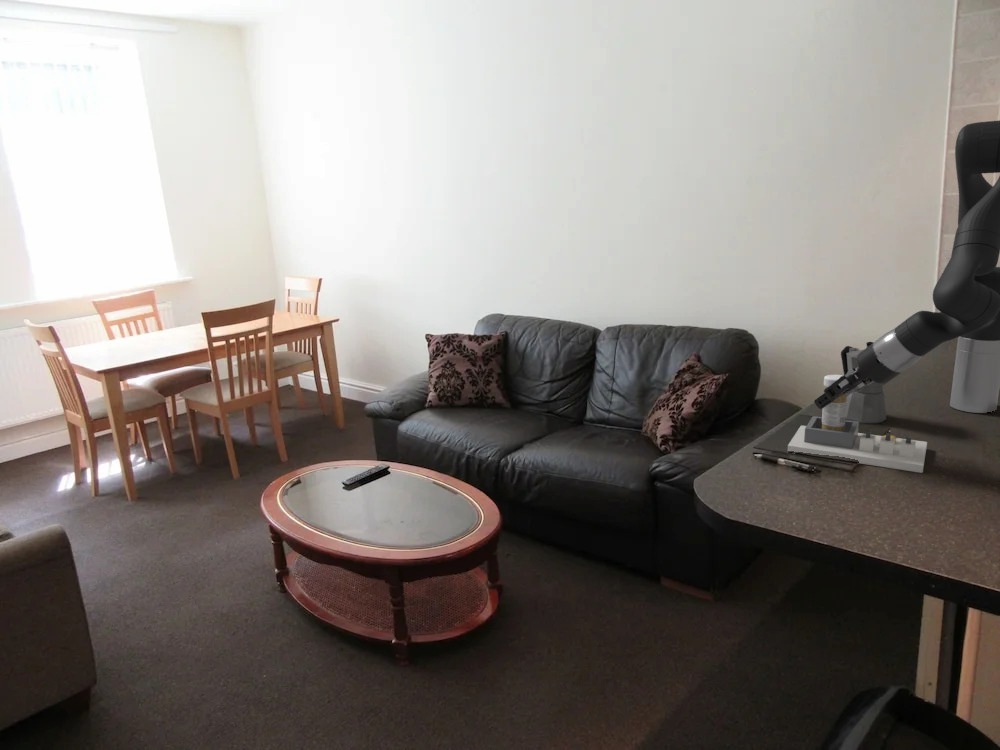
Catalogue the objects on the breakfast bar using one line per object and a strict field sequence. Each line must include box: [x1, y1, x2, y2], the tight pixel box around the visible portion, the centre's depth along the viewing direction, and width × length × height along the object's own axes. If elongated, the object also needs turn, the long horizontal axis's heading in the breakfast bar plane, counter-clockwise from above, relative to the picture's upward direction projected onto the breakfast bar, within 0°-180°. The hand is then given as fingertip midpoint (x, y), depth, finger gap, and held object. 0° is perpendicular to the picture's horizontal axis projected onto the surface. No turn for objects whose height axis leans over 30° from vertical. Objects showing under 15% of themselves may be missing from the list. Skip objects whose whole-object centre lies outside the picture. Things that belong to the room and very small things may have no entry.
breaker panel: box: [787, 415, 928, 474], centre depth 142 cm, size 14×24×5 cm, turn 57°
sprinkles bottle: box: [821, 374, 847, 432], centre depth 144 cm, size 5×5×14 cm
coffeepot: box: [840, 341, 887, 424], centre depth 161 cm, size 15×9×18 cm, turn 13°
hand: (825, 401), depth 145 cm, fingers open, 5 cm apart
